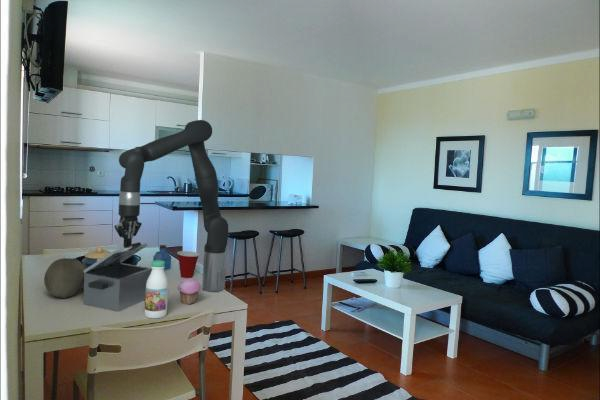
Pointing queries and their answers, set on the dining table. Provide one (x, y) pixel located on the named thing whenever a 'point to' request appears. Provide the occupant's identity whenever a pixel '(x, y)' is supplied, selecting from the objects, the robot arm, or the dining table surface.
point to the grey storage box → (116, 286)
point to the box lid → (116, 257)
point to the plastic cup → (187, 263)
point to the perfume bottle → (163, 256)
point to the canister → (94, 258)
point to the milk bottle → (156, 291)
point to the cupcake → (189, 290)
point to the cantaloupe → (64, 277)
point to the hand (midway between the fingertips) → (127, 247)
